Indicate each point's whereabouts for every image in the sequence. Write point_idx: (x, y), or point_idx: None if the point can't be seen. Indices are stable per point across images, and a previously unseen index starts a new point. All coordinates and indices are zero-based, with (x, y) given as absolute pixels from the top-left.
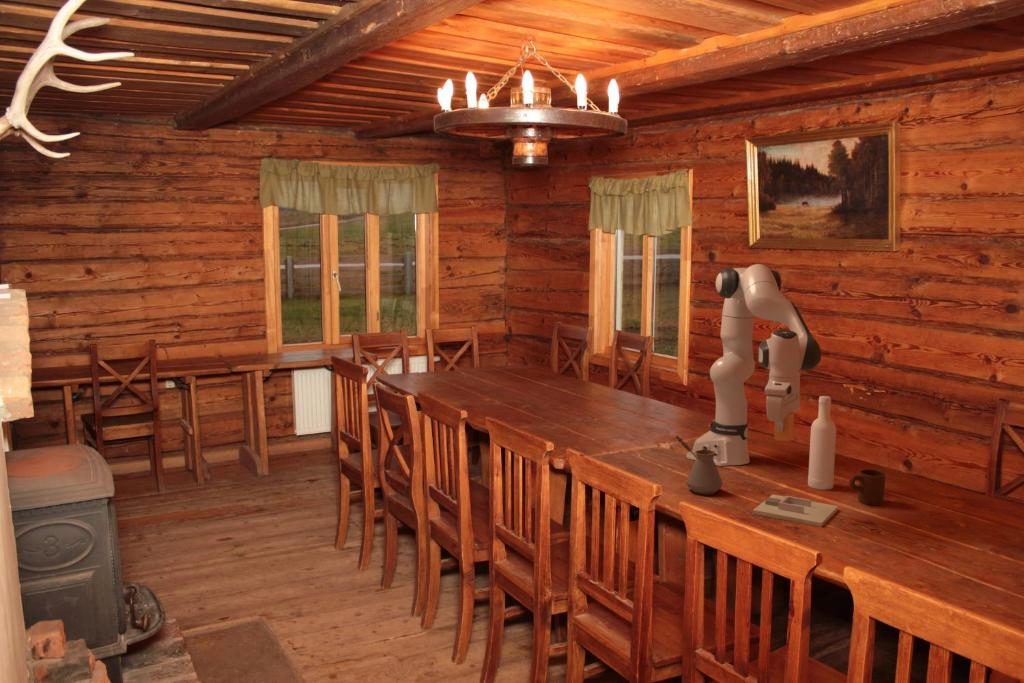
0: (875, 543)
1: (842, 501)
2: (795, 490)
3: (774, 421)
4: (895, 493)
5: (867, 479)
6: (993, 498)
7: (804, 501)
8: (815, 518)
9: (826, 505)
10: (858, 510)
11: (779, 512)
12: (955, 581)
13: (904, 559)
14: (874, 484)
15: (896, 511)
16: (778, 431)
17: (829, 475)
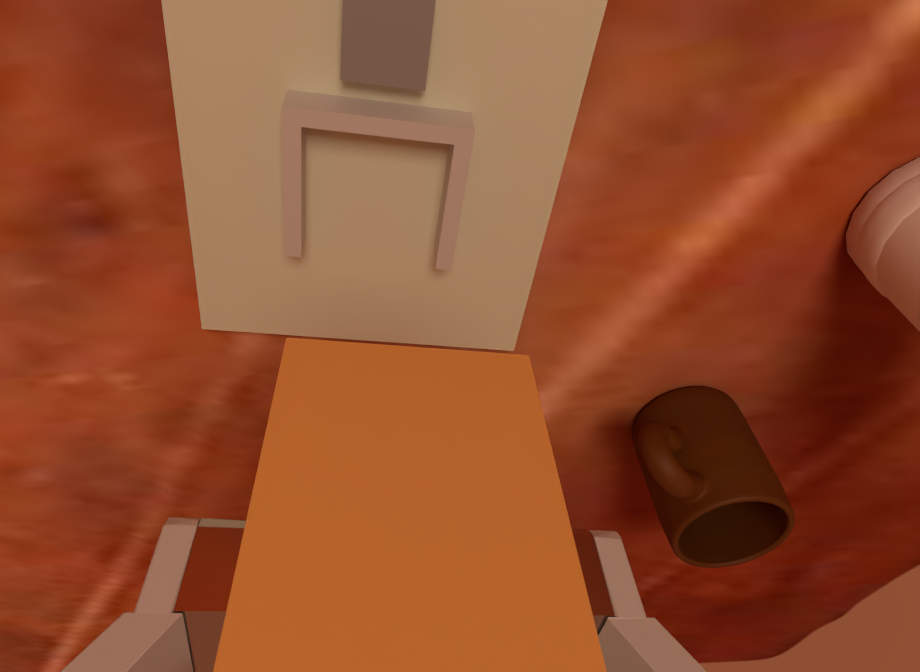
0: (158, 483)
1: (657, 335)
2: (819, 97)
3: (218, 648)
4: (821, 469)
5: (672, 508)
6: (801, 633)
7: (439, 232)
8: (251, 297)
9: (500, 308)
10: (541, 400)
11: (225, 110)
12: (7, 631)
13: (70, 550)
14: (657, 511)
15: (582, 491)
16: (166, 540)
17: (898, 309)
